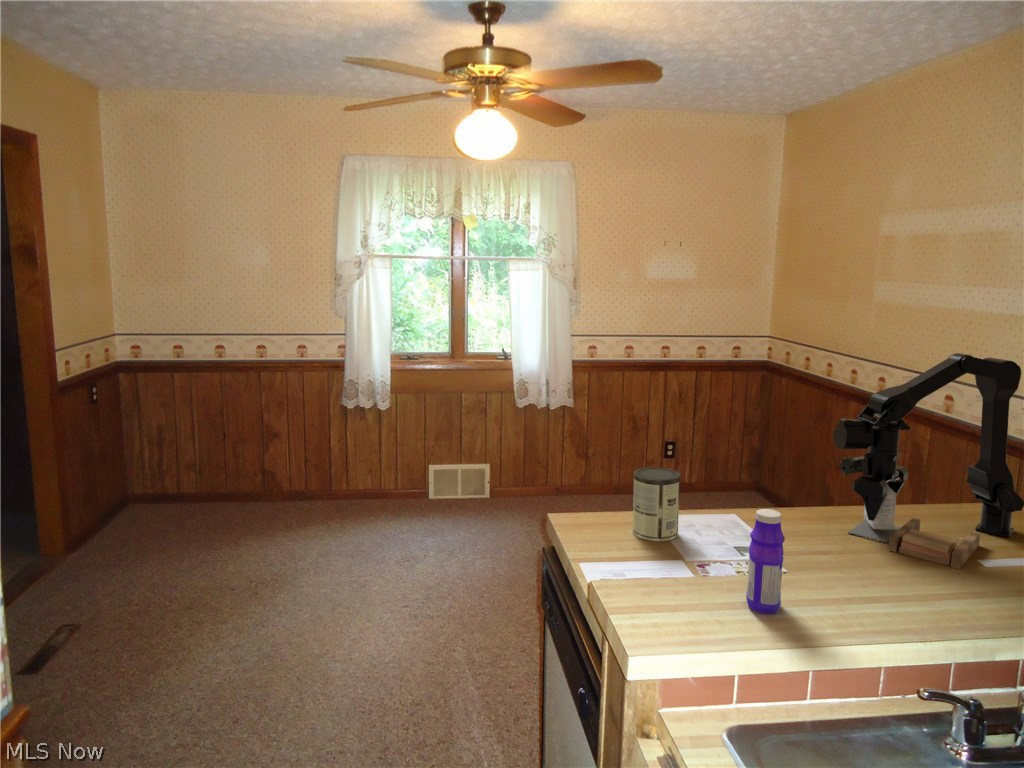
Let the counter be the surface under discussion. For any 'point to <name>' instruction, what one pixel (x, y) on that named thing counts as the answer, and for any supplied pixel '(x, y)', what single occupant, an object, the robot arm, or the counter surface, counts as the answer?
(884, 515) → the medicine box
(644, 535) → the coffee can
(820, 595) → the counter surface
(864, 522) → the mat
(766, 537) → the bottle
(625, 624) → the counter surface
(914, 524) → the rack
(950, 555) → the offcut stack
